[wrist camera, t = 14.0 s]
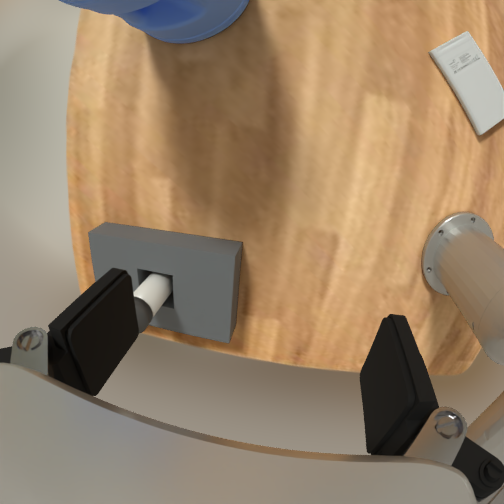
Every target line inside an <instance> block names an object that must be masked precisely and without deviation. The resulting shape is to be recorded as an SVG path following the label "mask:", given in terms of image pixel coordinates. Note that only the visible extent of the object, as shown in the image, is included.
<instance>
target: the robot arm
mask: <svg viewBox="0 0 504 504" xmlns="http://www.w3.org/2000/svg"><path fill="white" fill-rule="evenodd" d="M422 269H423V274H424V276H425V278H426V280H427V282H428V283H429V285H430V286H431V287H432V288H433V289H434V290H435V291H437V292H438V293H440V294H444V295H450V296H451V298H452V299H453V301H454V302H455V304H456V305H457V307H458V309H459V310H460V312H461V313H462V315H463V316H464V318H465V319H466V321H467V323H468V324H469V326H470V328H471V329H472V331H473V333H474V334H475V336H476V338H477V339H478V341H479V343H480V345H481V346H482V348H483V350H484V351H485V353H486V354H487V356H488V357H489V358H490V359H491V360H493V361H494V362H496V363H497V364H500V365H504V248H502V247H501V246H500V245H499V244H497V243H496V242H495V241H494V237H493V233H492V230H491V228H490V227H489V225H488V224H487V222H486V221H485V220H484V219H482V218H481V217H480V216H478V215H476V214H474V213H470V212H458V213H454V214H452V215H450V216H448V217H446V218H445V219H443V220H442V221H441V222H439V223H438V225H437V226H436V227H435V228H434V229H433V230H432V232H431V233H430V235H429V237H428V239H427V241H426V243H425V246H424V249H423V254H422ZM48 327H49V329H50V331H49V332H48V333H46V331H45V330H43V329H42V328H38V327H30V328H27V329H24V330H22V331H21V332H19V333H18V334H17V335H16V337H15V338H14V341H13V345H12V347H7V348H2V349H0V504H504V391H503V392H502V393H501V394H500V396H499V397H497V399H496V400H495V401H494V402H493V403H492V404H491V405H490V406H489V407H488V408H487V409H486V410H485V411H484V412H483V413H482V414H481V415H480V416H479V417H478V418H477V419H476V420H475V421H474V422H473V423H472V424H471V425H470V426H469V427H468V428H467V423H466V421H465V419H464V417H463V416H462V415H461V414H460V413H459V412H458V411H457V410H455V409H453V408H449V407H440V408H439V406H438V402H437V399H436V396H435V393H434V390H433V387H432V384H431V381H430V378H429V375H428V372H427V369H426V366H425V363H424V361H423V358H422V356H421V354H420V352H419V350H418V347H417V344H416V342H415V339H414V337H413V334H412V331H411V329H410V326H409V324H408V321H407V319H406V317H405V316H403V315H394V314H390V315H389V316H388V317H387V318H383V320H382V322H381V325H380V327H379V330H378V332H377V335H376V337H375V340H374V342H373V344H372V347H371V349H370V351H369V354H368V356H367V358H366V361H365V363H364V365H363V367H362V370H361V373H360V385H361V393H362V402H363V411H364V422H365V434H366V447H367V452H368V453H371V455H347V454H331V453H317V452H305V451H295V450H288V449H280V448H273V447H266V446H260V445H254V444H248V443H243V442H237V441H233V440H228V439H223V438H219V437H215V436H210V435H206V434H202V433H198V432H195V431H190V430H187V429H184V428H180V427H177V426H173V425H170V424H166V423H163V422H160V421H157V420H154V419H151V418H148V417H145V416H142V415H139V414H136V413H134V412H131V411H128V410H125V409H123V408H120V407H118V406H115V405H112V404H110V403H108V402H105V401H103V400H100V399H98V398H96V397H93V396H96V395H97V394H98V393H99V391H100V390H101V389H102V387H103V386H104V384H105V383H106V381H107V380H108V378H109V377H110V375H111V374H112V373H113V371H114V370H115V368H116V367H117V365H118V364H119V363H120V361H121V360H122V358H123V357H124V356H125V354H126V353H127V351H128V350H129V348H130V347H131V346H132V344H133V343H134V342H135V340H136V338H137V337H138V334H139V327H138V321H137V315H136V308H135V301H134V293H133V286H132V278H131V276H130V275H128V272H127V271H126V270H123V269H118V268H111V269H110V270H109V271H108V272H107V273H105V274H104V275H103V276H102V277H101V278H100V279H99V280H97V281H96V282H95V283H94V284H93V285H92V286H91V287H89V288H88V289H87V290H86V291H85V292H84V293H83V294H82V295H80V296H79V297H78V298H77V299H76V300H75V301H74V302H73V303H72V304H71V305H70V306H69V307H67V308H66V309H65V310H64V311H63V312H62V313H61V314H60V315H59V316H58V317H57V318H56V319H55V320H54V321H52V323H50V324H49V325H48Z"/></svg>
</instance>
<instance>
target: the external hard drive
mask: <svg viewBox="0 0 504 504" xmlns="http://www.w3.org/2000/svg"><path fill="white" fill-rule="evenodd" d="M428 53H429V54H430V56H431V57H432V58H433V60H434V61H435V63H436V64H437V66H438V67H439V69H440V70H441V72H442V73H443V75H444V76H445V78H446V80H447V81H448V83H449V84H450V86H451V88H452V89H453V91H454V93H455V94H456V96H457V98H458V99H459V101H460V103H461V105H462V107H463V108H464V110H465V112H466V114H467V116H468V118H469V120H470V122H471V124H472V125H473V127H474V129H475V131H476V134H477V135H482V134H483V133H485V132H486V131H488V130H489V129H490V128H492V127H493V126H494V125H496V124H497V123H498V122H500V121H501V120H503V119H504V90H503V88H502V86H501V84H500V82H499V80H498V79H497V77H496V75H495V73H494V71H493V70H492V68H491V66H490V65H489V63H488V61H487V60H486V58H485V56H484V55H483V53H482V51H481V50H480V48H479V47H478V45H477V44H476V42H475V41H474V39H473V38H472V36H471V35H470V34H469V32H468V31H466V32H464V33H463V34H461V35H459V36H457V37H455V38H453V39H451V40H449V41H448V42H446V43H444V44H442V45H440V46H439V47H437V48H435V49H433V50H431V51H430V52H428Z"/></svg>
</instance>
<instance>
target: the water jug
mask: <svg viewBox="0 0 504 504" xmlns="http://www.w3.org/2000/svg"><path fill="white" fill-rule="evenodd" d="M59 1H62V2H64V3H66V4H69V5H72V6H75V7H79V8H83V9H89V10H92V11H95V12H98V13H102V14H114V15H116V16H118V17H121V18H123V19H124V20H125V21H126V22H127V23H128V24H129V25H131V26H133V27H135V28H137V29H139V30H142V31H144V32H146V33H147V34H148V35H150V36H152V37H154V38H156V39H159V40H161V41H164V42H169V43H179V44H180V43H192V42H197V41H200V40H204V39H206V38H209V37H211V36H214V35H216V34H218V33H219V32H221V31H223V30H224V29H226V28H227V27H228V26H230V25H231V24H232V23H233V22H234V21H235V20H236V19H237V18H238V17H239V16H240V15H241V14H242V12H243V11H244V10H245V8H246V6H247V4H248V2H249V0H59Z"/></svg>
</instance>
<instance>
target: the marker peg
mask: <svg viewBox="0 0 504 504" xmlns="http://www.w3.org/2000/svg"><path fill="white" fill-rule="evenodd" d="M172 291H173V275H168V274H163V273H158V272H152V273H151V274H150V275H149V276H148V277H147V278H146V279H145V281H144V282H143V283H142V284H141V285H140V286H139V287H138V288H137V289H136V290H135V291H134V292H133V293H134V301H135V308H136V315H137V321H138V327H139V333H142V332H143V331H144V330H145V329H146V328H147V326H148V325H149V323H150V322H151V321H152V319H153V317H154V315H155V314H156V313H157V311H158V310H159V308H160V307H161V306H162V304H163V303H164V302H165V300H166V299H167V298H168V296H169V295H170V294H171V292H172Z"/></svg>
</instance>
